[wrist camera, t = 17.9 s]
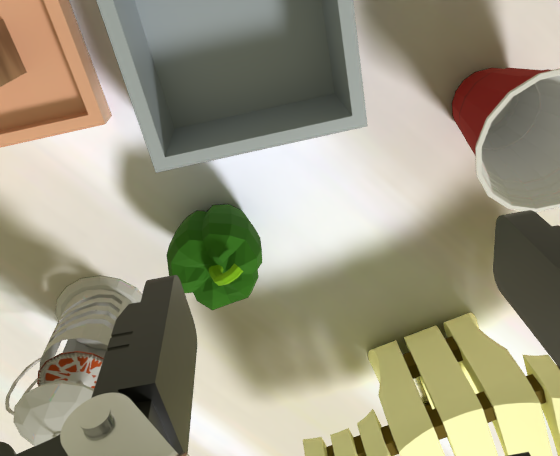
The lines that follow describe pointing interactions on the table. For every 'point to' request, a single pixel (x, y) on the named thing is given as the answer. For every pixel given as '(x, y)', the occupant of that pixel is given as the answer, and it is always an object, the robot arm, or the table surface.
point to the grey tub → (236, 73)
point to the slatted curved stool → (454, 399)
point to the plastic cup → (513, 134)
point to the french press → (71, 355)
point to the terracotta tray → (48, 74)
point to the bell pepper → (216, 255)
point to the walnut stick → (9, 57)
